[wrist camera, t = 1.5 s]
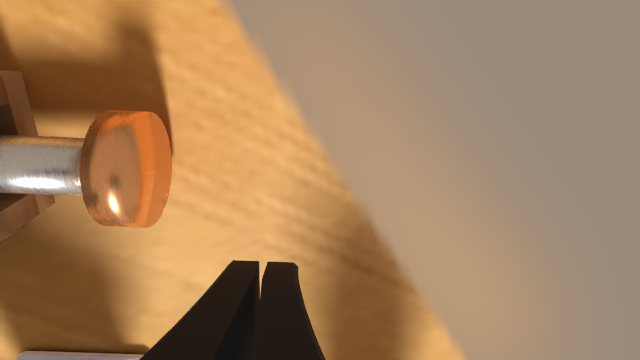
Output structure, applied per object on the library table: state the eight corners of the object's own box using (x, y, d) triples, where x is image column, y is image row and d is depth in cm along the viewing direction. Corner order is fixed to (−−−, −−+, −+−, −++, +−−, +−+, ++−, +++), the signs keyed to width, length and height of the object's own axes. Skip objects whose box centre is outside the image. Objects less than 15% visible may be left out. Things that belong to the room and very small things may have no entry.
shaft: (165, 100, 17) (113, 130, 13) (176, 196, 19) (133, 250, 15) (-85, 89, 17) (-224, 115, 13) (-49, 187, 19) (-159, 240, 15)
